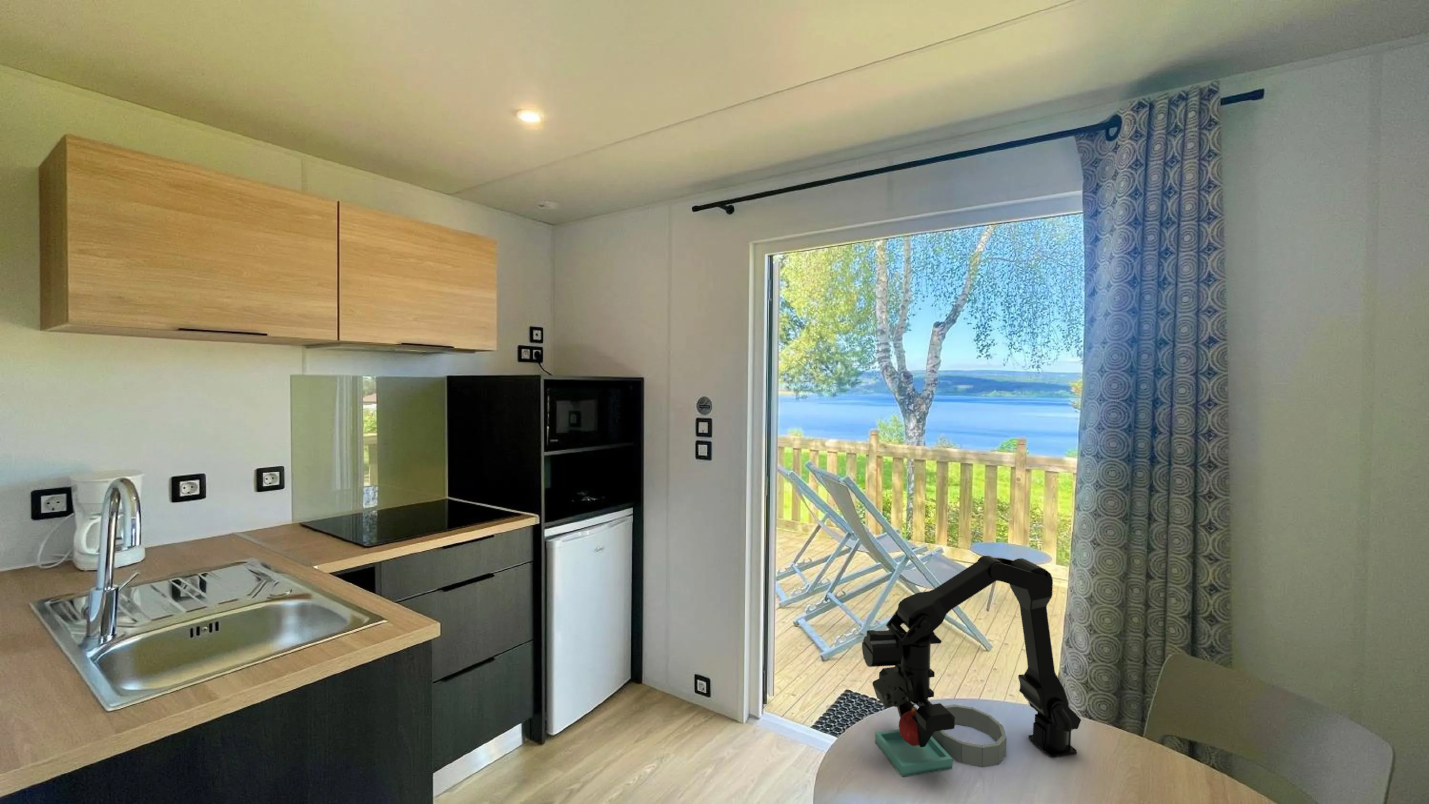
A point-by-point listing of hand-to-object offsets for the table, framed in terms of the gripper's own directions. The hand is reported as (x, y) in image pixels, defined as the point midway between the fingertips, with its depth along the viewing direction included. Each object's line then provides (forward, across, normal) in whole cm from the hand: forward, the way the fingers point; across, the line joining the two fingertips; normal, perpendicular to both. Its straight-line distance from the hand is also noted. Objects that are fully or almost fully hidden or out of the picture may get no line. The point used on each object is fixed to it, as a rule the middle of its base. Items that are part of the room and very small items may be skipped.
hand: (913, 736), depth 116 cm
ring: (+4, -1, +13) cm, 14 cm away
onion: (+2, 0, 0) cm, 2 cm away
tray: (+4, 0, 0) cm, 4 cm away
